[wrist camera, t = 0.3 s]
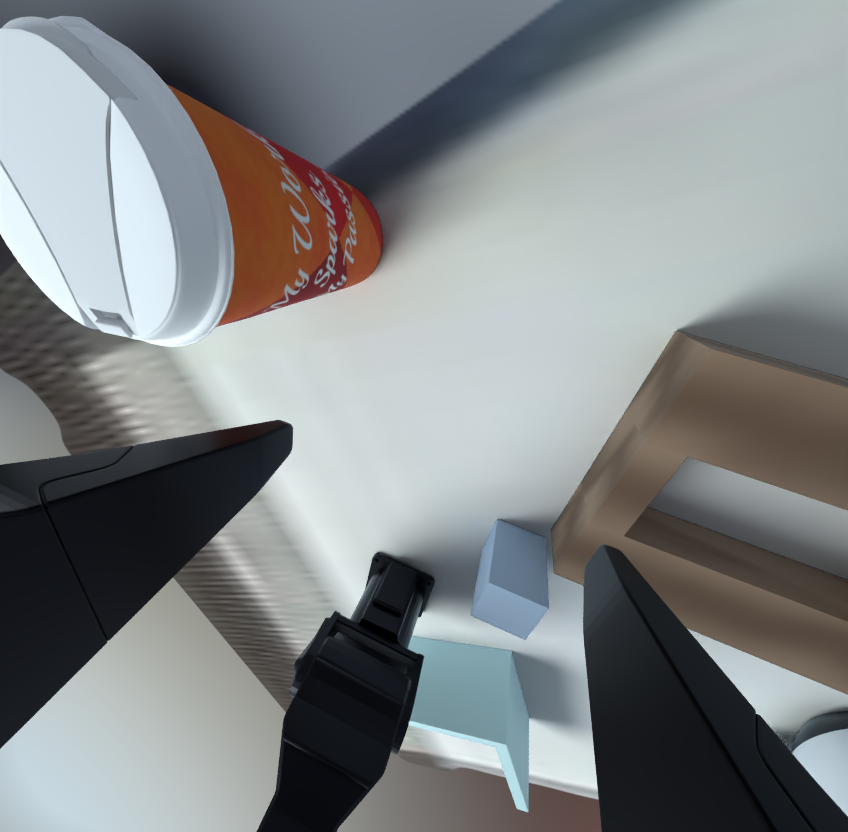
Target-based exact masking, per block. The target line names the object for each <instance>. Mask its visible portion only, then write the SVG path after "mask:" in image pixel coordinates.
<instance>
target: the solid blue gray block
mask: <svg viewBox="0 0 848 832" xmlns="http://www.w3.org/2000/svg"><path fill="white" fill-rule="evenodd" d="M548 609H549V600H548V577H547V555H546V538H544V537H542V536H539V535H537V534H534V533H531V532H529V531H526V530H524V529H521V528H519V527H516V526H514V525H511V524H509V523H506V522H504V521H501V520H499V519H497V521H496V523H495V525H494V527H493V529H492V531H491V533H490V535H489V537H488V539H487V541H486V543H485V545H484V547H483V549H482V553H481V558H480V564H479V570H478V576H477V581H476V587H475V593H474V598H473V604H472V610H471V616H473V617H475V618H477V619H480V620H482V621H484V622H486V623H488V624H491V625H493V626H495V627H497V628H500V629H502V630H504V631H506V632H508V633H511V634H513V635H515V636H517V637H520V638H522V639H524V640H525V639H526V638H527V637H528V635H529V634H530V633H531V632H532V630H533V629H534V628H535V626H536V625H537V624H538V622H539V621H540V620H541V618H542V617H543V616H544V614H545V613H546V612H547V610H548Z"/></svg>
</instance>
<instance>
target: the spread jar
mask: <svg viewBox="0 0 848 832" xmlns="http://www.w3.org/2000/svg"><path fill="white" fill-rule="evenodd" d="M791 753H792V754H793V755H794V756H795V757H796V758H797V760H798V761H799V762H800V763H801V764H802V765H803V767H804V768H805V769H806V770H807V771H808V772H809V774H810V775H811V776H812V777H813V778H814V779H815V781H816V782H817V783H818V784H819V785H820V786H821V787H822V788H823V789H824V791H825V792H826V793H827V794H828V795H829V796H830V797H831V798H832V800H833V801H834V802H835V803H836V804H837V805H838V806H839V807H840V808H841V810H842V811H843V812H844V813H845V814H846V815H847V816H848V712H838V713H830V714H825V715H821V716H818V717H815V718H813V719H811V720H809V721H808V722H807V723H806V724H805V725H804V726H803V727H802V728H801V730H800V731H799V732H798V734H797V735H796V737H795V739H794V742H793V744H792V749H791Z"/></svg>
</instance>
